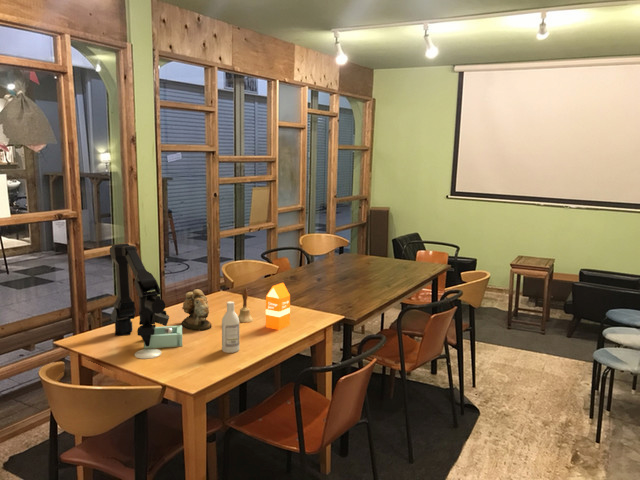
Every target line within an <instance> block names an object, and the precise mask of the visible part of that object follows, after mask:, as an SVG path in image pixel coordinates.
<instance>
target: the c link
mask: <svg viewBox="0 0 640 480" xmlns="http://www.w3.org/2000/svg"><path fill="white" fill-rule="evenodd" d="M167 327H172V334H165V328H167ZM174 347H175V348H176V347H183V326H182V325H168V326H164V325H162V326H155V333H154V335H151V338H150V344H149V346H146V345H145V343H144V342H143V349H160V348H174Z"/></svg>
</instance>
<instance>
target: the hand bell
mask: <svg viewBox="0 0 640 480" xmlns="http://www.w3.org/2000/svg"><path fill="white" fill-rule="evenodd" d="M241 296H242V300H243V302H242V308H240V309H239V314H238V315H237V316H238V318H239V323H244V324H245V323H251V322H253V321H254V318H253V317H252V316H251V311H250V310H251V309H250V308H249V307H248V306H247V303H248V296H249V294H248V289H247V287H243V290H242V292H241Z"/></svg>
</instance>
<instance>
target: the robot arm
mask: <svg viewBox="0 0 640 480" xmlns="http://www.w3.org/2000/svg"><path fill="white" fill-rule="evenodd" d="M137 250H138V249H137V247H136V245H131V244H129V243H127V242H123V243H115V244H114V243H113V244H112V245H111V246H110V247H109V254H110V258H111V260H112V262H113V263H114V264H115V272H116V273H115V274H116V287H117V288H116V289H117V291H116V292H117V293H116V294H117V298H116V299H115V301H114V304H113V310H112V312H111V314H110V320H111V321H112V322H114V331H115V332H114V336H127V335H129V336H130V335H131V334H132V332H133V321H132V319H135V317H136V310H137V309H136V307H135V301H133V299H131V296H130V283H129V268H130V269H131V272H132V274H133V275H134V277H135V278H134V287H135V289H136V292H137V293H136V295H137V296H138V304H139V305H138V306H139V307H138V308H139V309H138V310H139V311H138V315H139V323H138V324H139V326H138V328H137V331H136V333H137V336H140V337H141V339H142V341H143V344H144V343H145V345H146V346H149V344H150V338H151V335H154V333H155V327H157V326H156V324H158V325H162V326H167V325H168V323H169V320H170V316H169V314H167V311H166V310H165V309H166V303H165V301H164V300H163V299H162V298H161V288H160V285H159V284H158V282H157V280H156V278H155V277H154V275H153V274H152V273H151V272H150V271H147V269H146V268H145V266H144V263H143V261H142V259H141V257H140V255H139V253H138V252H137ZM128 267H129V268H128Z"/></svg>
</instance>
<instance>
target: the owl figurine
mask: <svg viewBox="0 0 640 480" xmlns="http://www.w3.org/2000/svg"><path fill="white" fill-rule="evenodd" d="M184 297H185V299H184V301H183V303H182V307H181V309H182V310H183V312H184V313H185V314H187V315H188V316H186V317H184V319H183V320H182V321H181V325H182V328H184V329H187V330H190V331H197V332H198V331H201V332H202V331H208V330H210V329H212V327H213V326H212V323H211V322H210V321H209V320H208V319H207V318H208V317H209V313H210V309H209V303H208V301H209V300H208V297H207V296H206V295H205V294H204V291H202V290H201V289H198V288H197V289H193V291H188V292H186V293H185V296H184Z"/></svg>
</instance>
